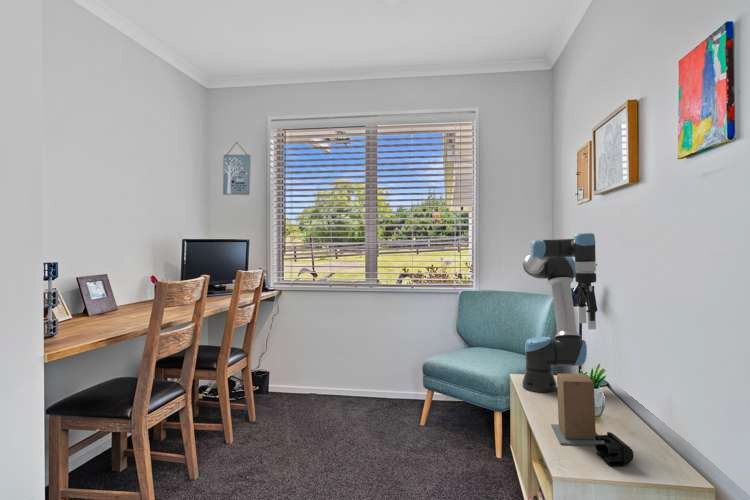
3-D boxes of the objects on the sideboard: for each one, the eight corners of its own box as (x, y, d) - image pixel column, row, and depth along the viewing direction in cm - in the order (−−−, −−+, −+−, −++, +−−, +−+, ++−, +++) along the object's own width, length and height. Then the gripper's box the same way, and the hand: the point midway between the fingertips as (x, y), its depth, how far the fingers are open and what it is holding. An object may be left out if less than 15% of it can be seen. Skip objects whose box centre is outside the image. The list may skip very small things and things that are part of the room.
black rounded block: (634, 467, 135) (633, 445, 135) (610, 468, 136) (609, 445, 136) (617, 452, 145) (616, 431, 145) (595, 452, 146) (594, 432, 146)
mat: (551, 425, 168) (551, 424, 168) (591, 427, 165) (591, 425, 165) (560, 444, 152) (560, 442, 152) (605, 446, 149) (605, 444, 149)
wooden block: (596, 440, 153) (594, 381, 153) (565, 439, 155) (563, 381, 154) (587, 428, 163) (585, 373, 163) (558, 427, 164) (556, 373, 164)
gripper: (605, 274, 165) (607, 332, 165) (587, 270, 189) (588, 320, 189) (583, 274, 166) (585, 332, 166) (568, 270, 191) (569, 320, 191)
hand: (587, 326), depth 178 cm, fingers open, 13 cm apart
